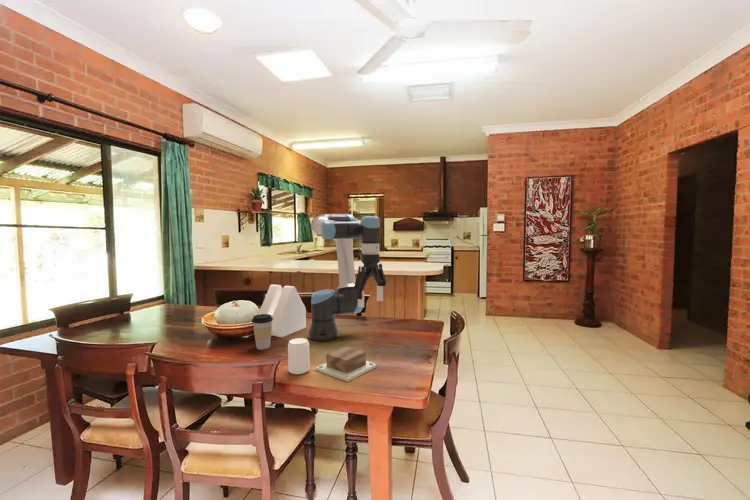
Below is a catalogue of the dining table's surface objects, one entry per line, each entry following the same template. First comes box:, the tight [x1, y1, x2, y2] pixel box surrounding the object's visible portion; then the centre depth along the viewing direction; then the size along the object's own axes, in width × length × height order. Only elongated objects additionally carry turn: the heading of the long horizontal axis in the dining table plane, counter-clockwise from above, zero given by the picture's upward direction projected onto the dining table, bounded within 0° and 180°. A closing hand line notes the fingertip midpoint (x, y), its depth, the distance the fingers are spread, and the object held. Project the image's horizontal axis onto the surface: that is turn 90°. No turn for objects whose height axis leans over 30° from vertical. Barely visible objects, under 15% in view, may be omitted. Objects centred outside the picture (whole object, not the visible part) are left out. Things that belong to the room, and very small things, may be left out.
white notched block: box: [258, 284, 307, 338], centre depth 187 cm, size 19×15×25 cm
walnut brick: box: [325, 346, 367, 374], centre depth 138 cm, size 11×11×5 cm
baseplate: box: [315, 360, 377, 383], centre depth 138 cm, size 17×17×2 cm
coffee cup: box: [251, 314, 273, 351], centre depth 162 cm, size 9×9×15 cm
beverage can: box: [287, 337, 311, 375], centre depth 135 cm, size 8×8×12 cm
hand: (370, 303), depth 147 cm, fingers open, 13 cm apart
